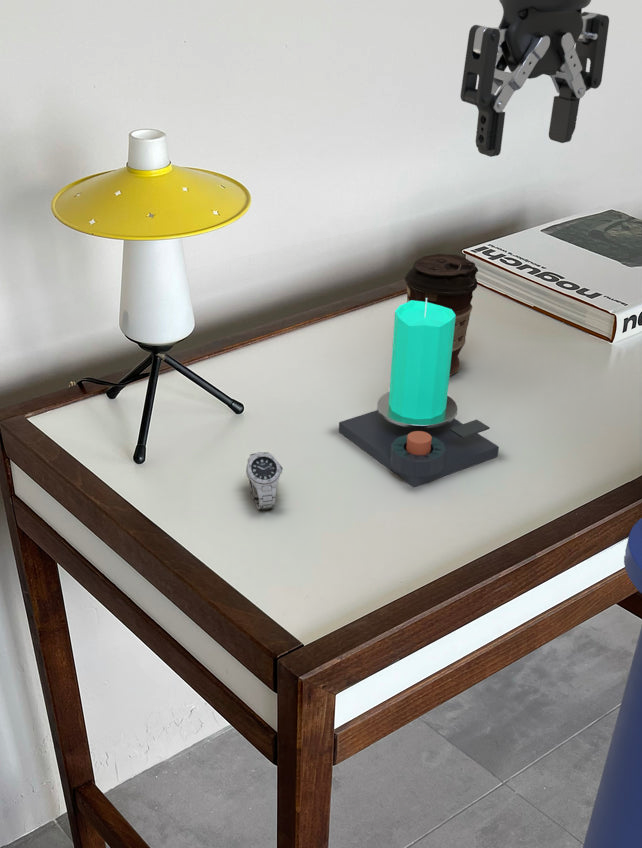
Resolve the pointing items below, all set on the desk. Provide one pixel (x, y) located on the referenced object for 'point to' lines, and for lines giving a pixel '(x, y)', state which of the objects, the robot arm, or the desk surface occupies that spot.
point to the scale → (415, 469)
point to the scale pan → (437, 421)
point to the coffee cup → (445, 291)
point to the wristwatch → (263, 478)
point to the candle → (421, 359)
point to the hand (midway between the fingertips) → (524, 147)
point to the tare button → (418, 443)
